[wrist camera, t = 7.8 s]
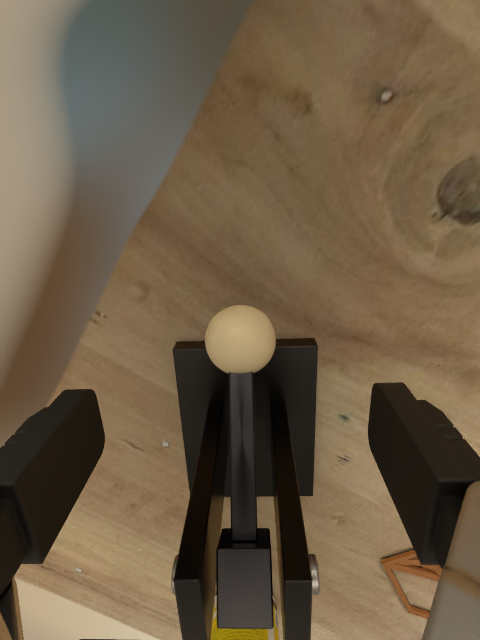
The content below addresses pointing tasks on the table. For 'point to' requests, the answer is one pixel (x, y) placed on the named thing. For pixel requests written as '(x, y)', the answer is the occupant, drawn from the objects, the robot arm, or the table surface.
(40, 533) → the robot arm
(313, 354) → the bracket
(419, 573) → the emblem
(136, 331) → the table surface
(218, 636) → the supplement bottle
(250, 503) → the lever
